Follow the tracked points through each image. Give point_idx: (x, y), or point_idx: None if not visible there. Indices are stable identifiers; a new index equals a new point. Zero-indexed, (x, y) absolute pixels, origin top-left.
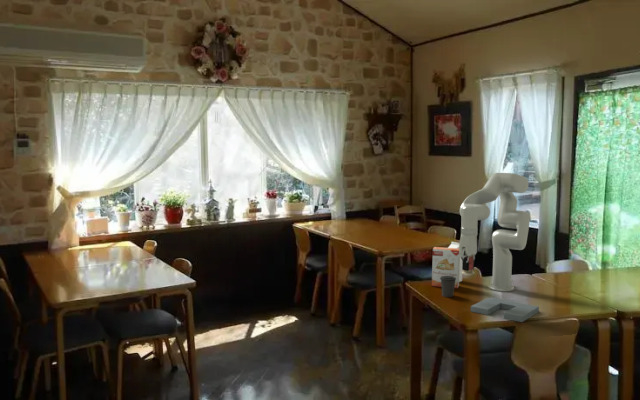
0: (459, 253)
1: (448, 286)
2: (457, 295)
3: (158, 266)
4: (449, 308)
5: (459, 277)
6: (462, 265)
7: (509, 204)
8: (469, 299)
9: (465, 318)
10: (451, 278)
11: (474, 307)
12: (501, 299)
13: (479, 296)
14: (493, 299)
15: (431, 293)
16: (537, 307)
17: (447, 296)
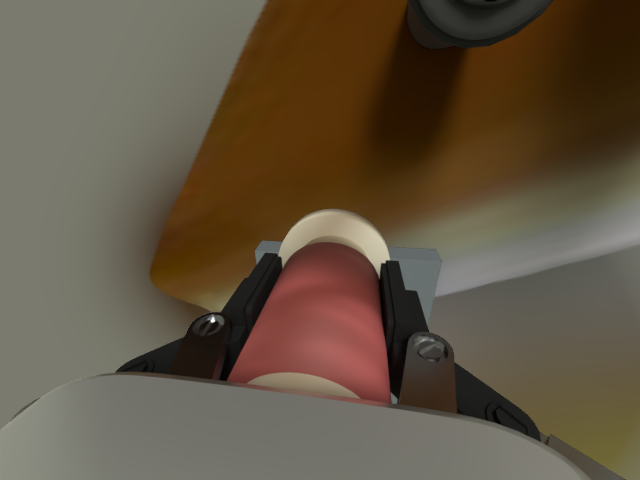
0: (20, 421)
1: (416, 16)
2: (483, 59)
3: None
4: (232, 157)
5: None
6: (249, 277)
7: None
8: (431, 160)
9: (184, 256)
10: (467, 5)
11: (257, 263)
12: (430, 307)
13: (522, 175)
14: (410, 284)
15: None
16: (396, 403)
17: (409, 27)
